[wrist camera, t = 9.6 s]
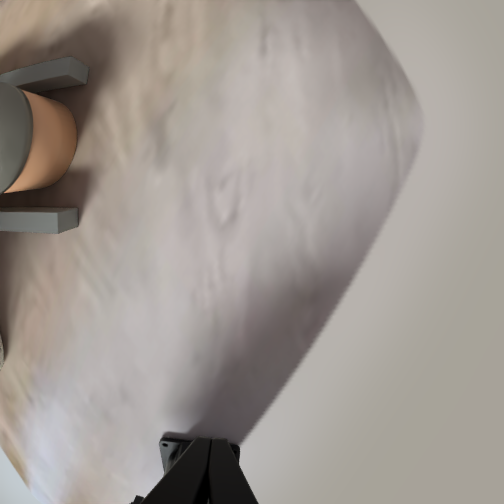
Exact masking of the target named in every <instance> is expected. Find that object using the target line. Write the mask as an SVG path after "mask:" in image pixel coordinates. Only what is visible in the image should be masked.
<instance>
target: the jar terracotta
mask: <svg viewBox="0 0 504 504" xmlns="http://www.w3.org/2000/svg"><path fill="white" fill-rule="evenodd" d="M76 143H77V128H76V123H75V120H74V117H73V115H72V113H71V112H70V110H69V109H68V108H67V107H66V106H65V105H64V104H62V103H60V102H58V101H55V100H52V99H49V98H46V97H43V96H39V95H36V94H33V93H30V92H27V91H24V90H21V89H20V88H18V87H16V86H14V85H10V84H7V83H3V82H0V194H2V193H8V192H15V191H23V190H31V189H39V188H45V187H48V186H50V185H52V184H54V183H55V182H57V181H58V180H59V179H60V178H61V177H62V176H63V175H64V173H65V172H66V171H67V169H68V167H69V166H70V164H71V161H72V159H73V156H74V153H75V149H76Z"/></svg>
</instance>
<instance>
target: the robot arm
mask: <svg viewBox="0 0 504 504" xmlns="http://www.w3.org/2000/svg"><path fill="white" fill-rule="evenodd" d="M165 443H166V444H165ZM159 446H160V452H161V457H162V463H163V468H164V476H163V478H162V479H161V480H160V481H159V482H158V484H157V485H156V486H155V487H154V488H153V489H152V490H151V492H150V493H149V494H148V495H147V496H146V497H145V498H144V497H142V496H138V495H136V497H135V499H134V502H131V504H258V502H257V500H256V498H255V496H254V494H253V492H252V490H251V488H250V486H249V484H248V482H247V480H246V478H245V476H244V474H243V472H242V470H241V468H240V466H239V458H240V447H239V446H237V445H230V444H229V442H228V440H227V439H225V438H213V439H211V438H210V437H202V436H198V437H196V438H195V439H194V441H185V440H177V439H170V438H161V439H160V442H159Z"/></svg>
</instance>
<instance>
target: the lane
mask: <svg viewBox="0 0 504 504" xmlns="http://www.w3.org/2000/svg"><path fill="white" fill-rule="evenodd" d="M88 72H89V67H88V66H87V65H85V64H84V63H82V62H80V61H79V60H77V59H75V58H74V57H72V56H69V57H64V58H59V59H55V60H51V61H46V62H42V63H38V64H34V65H31V66H27V67H24V68H20V69H17V70H13V71H10V72H7V73H4V74H1V75H0V82H3V83H7V84H10V85H14V86H16V87H18V88H20V89H21V90H24V91H27V92H30V93H38V92H43V91H48V90H53V89H58V88H64V87H70V86H77V85H84V84H87V78H88ZM76 227H78V208H52V207H0V231H14V232H34V233H52V234H59V233H62V232H64V231H67V230H70V229H73V228H76Z"/></svg>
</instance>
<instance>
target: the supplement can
mask: <svg viewBox="0 0 504 504" xmlns="http://www.w3.org/2000/svg"><path fill="white" fill-rule="evenodd" d="M3 364H4V351H3V343H2V339H1V334H0V370H1V368H2V366H3Z"/></svg>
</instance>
